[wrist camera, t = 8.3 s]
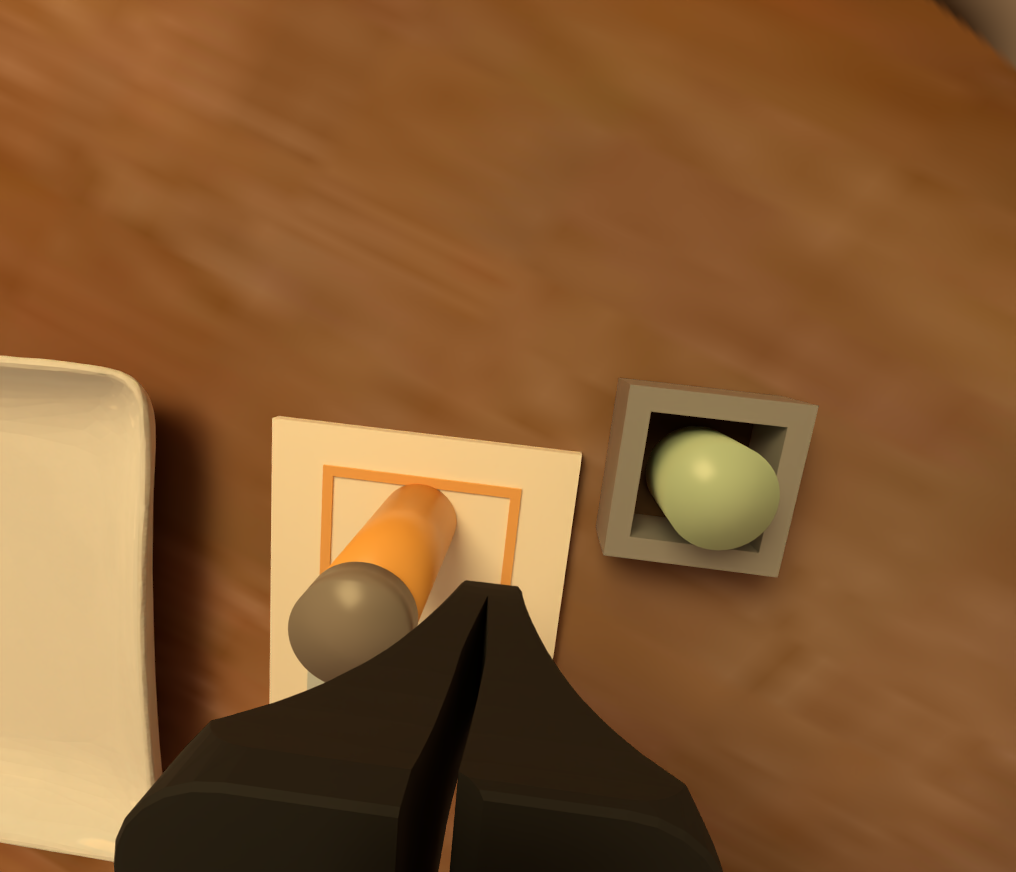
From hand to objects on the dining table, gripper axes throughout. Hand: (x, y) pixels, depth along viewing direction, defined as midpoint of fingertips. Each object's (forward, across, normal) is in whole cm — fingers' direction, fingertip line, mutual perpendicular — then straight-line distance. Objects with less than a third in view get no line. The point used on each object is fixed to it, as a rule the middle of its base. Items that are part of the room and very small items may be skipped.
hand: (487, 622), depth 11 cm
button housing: (+9, -6, -2) cm, 11 cm away
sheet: (+9, +4, +5) cm, 11 cm away
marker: (+8, +4, +1) cm, 9 cm away
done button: (+9, -6, -2) cm, 11 cm away
